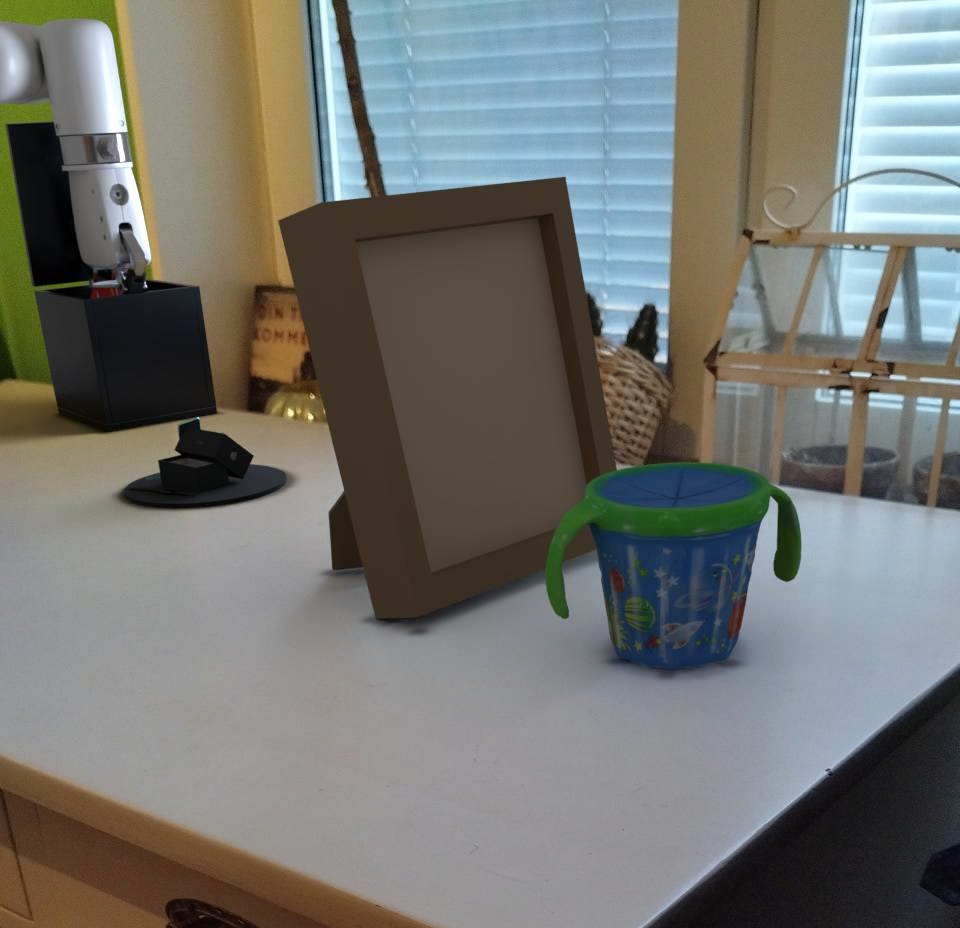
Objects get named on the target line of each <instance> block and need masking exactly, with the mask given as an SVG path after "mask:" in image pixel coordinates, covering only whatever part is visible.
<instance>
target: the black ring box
mask: <svg viewBox="0 0 960 928" xmlns="http://www.w3.org/2000/svg"><path fill="white" fill-rule="evenodd" d="M177 434H178V441H177V443H176V445H175V448H174V449H173V450H174V451H175V452H176V453H178V455H174V456H170V457H165V458H162V459H158V460H157V463H158V469H159V472H156V473H153V474H148V475H146V476H143V477H140V478H138V479H136V480H133V481H132V482H129V483H128V484H127V485H125V487H124V488H123V494H124V498H125V499H126V500H128V501H129V502H131V503H134V504H138V505H142V506H148V507H158V508H197V507H208V506H218V505H225V504H231V503H237V502H241V501H246V500H247V501H248V500H252V499H255V498H259V497H262V496H266V495H268V494H270V493H273V492H276V491H277V490H280V489H281V488H282V487H283V486H285V484H287V481H288V478H287V473H286V472H285V471H284V470H281V469H279V468H277V467H273V466H268V465H262V464H254V463H253V464H252V461H253V459H254V457H255V455H254V454H252V453H251V452H249V450H247V449H246V448H244V447H243V446H242V445H241V444H239V443H238V442H236V441H235V440H234V439H232V437H230V436H229V435H227V434H226V433H224V432H218V431H212V430H206V429H202V425H201V419H200V418H199V416H198V417H192V418H189V419H188V420H185V421H182V422H180V423H178V424H177Z"/></svg>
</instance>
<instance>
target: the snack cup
mask: <svg viewBox="0 0 960 928" xmlns="http://www.w3.org/2000/svg"><path fill="white" fill-rule="evenodd" d="M771 498H772V499H773V500H774V502H776V503H777V519H776V520H777V521H776V522H777V523H776V524H777V527H776V549H775V553H774V557H773V563H772V565H773V566H772V567H773V568H772V569H773V573H774V576H775V577H776V579H778V580H780V581H782V582H785V583H789V582H792V581H793V580H794V579H795V578H796V577H797V575H798V573H799V570H800V566H801V561H802V532H801V524H800V520H799V514H798V511H797V508H796V506H795V503H794V501H793V500H792V498H791V497H790V496H789V495H788V493H786V491H784V490H782V489H781V488H779V487H778V486H776V485H774V484H771V483H770V481H769V480H768V479H767V478H766V477H765V475H763V474H760V472H759V473H758V472H756V471H754V470H752V469H748V468H745V467H741V466H740V467H739V466H735V465H729V464H722V463H714V462H713V463H711V462H694V461H693V462H691V461H687V462H686V461H682V462H679V461H678V462H661V463H651V464H643V465H635V466H631V467H630V466H629V467H625V468H620V469H617V470H616V471H613V472H609V473H606V474H603V475H601V476H599V477H597V478H595V479H593V480H592V481H591V482H590V483H589V484H588V485H587V486H586V488H585V496H584V498H583V499H582V501H580V502H579V503H578V504H577V505H576V506H574V507H573V508H572V509H571V510H570V511H569V512H567V513H565V515H564V517H563V519H562V521H561V522H560V524H559V526H558V527H557V529H556V531H555V533H554V536H553V539H552V542H551V545H550V548H549V553H548V557H547V563H546V569H545V589H546V594H547V597H548V600H549V604H550V606H551V608H552V610H553V612H554V613H555V615H556V616H558V617H560V618H561V619H563V620H566V619H568V618H569V617H570V610H569V606H568V603H567V598H566V596H567V595H566V587H565V586H566V585H565V577H564V574H563V562H562V559H563V556H564V553H565V550H566V548H567V546H568V545H569V544H570V543H571V542H572V540H573V539H574V538H575V536H576V535H577V533H578V532H579V531H580V529H581V528H582V527H583V526H584V525H586V524H589V526H590V530H591V533H592V536H593V539H594V542H595V545H596V555H597V562H598V568H599V570H600V576H601V577H600V582H601V583H600V584H601V588H602V593H603V600H604V606H605V613H606V619H607V625H608V632H609V637H610V641H611V643H612V645H613V648H614V651H615V653H616V655H617V657H618V658H619V659H623V660H626V661H629V662H631V663H634V664H636V665H639V666H644V667H647V668H651V669H655V670H658V669H660V670H669V671H675V670H685V669H694V668H699V667H704V666H706V665H709V664H711V663H713V662H719V661H725V660H727V659H728V658H729V657H730V656H731V653H732V652H733V650H734V649H735V647H736V645H737V643H738V640H739V637H740V632H741V629H742V625H743V620H744V614H745V610H746V604H747V599H748V592H749V591H748V590H749V585H750V581H751V579H752V578H751V577H752V571H753V564H754V561H755V557H756V549H757V543H758V538H759V534H760V533H759V532H760V529H761V524H762V522H763V520H764V518H765V516H767V513H768V511H769V508H770V504H771V503H770V502H771Z"/></svg>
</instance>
